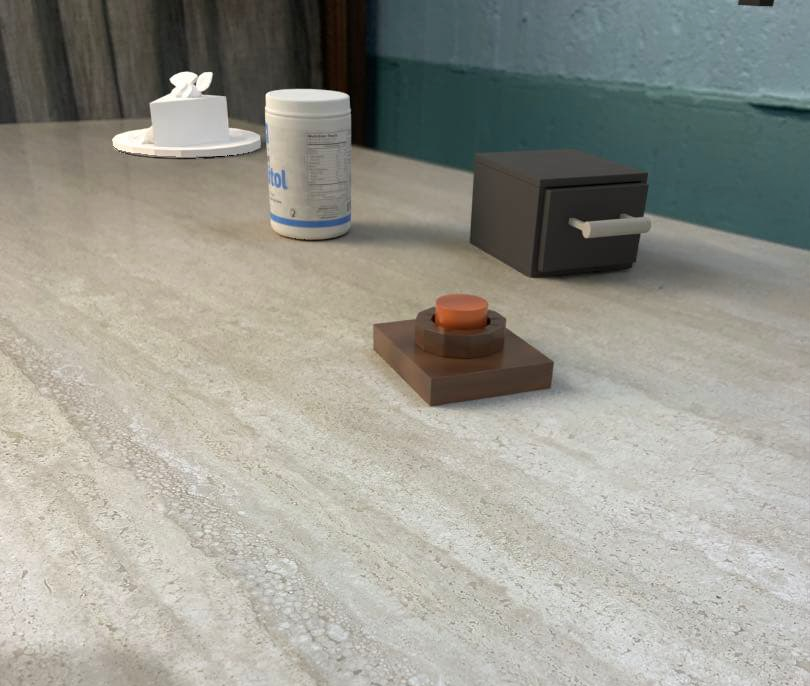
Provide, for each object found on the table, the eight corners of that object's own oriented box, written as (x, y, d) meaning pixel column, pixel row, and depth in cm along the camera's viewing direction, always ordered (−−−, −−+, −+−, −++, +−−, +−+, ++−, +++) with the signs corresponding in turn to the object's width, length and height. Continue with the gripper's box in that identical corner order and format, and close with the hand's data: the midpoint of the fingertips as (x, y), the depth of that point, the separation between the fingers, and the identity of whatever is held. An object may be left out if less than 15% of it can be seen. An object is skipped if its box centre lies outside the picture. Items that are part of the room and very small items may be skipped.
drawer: (660, 274, 88) (675, 193, 84) (564, 284, 85) (574, 201, 80) (569, 231, 102) (578, 160, 98) (483, 239, 98) (488, 165, 94)
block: (551, 389, 66) (557, 338, 64) (430, 407, 62) (432, 354, 60) (481, 335, 75) (484, 290, 73) (372, 349, 72) (373, 302, 70)
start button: (495, 329, 66) (497, 307, 65) (447, 335, 65) (448, 313, 64) (472, 313, 69) (474, 291, 68) (426, 318, 68) (427, 296, 67)
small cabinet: (633, 267, 93) (648, 172, 88) (530, 278, 89) (540, 179, 84) (563, 234, 105) (573, 148, 99) (469, 242, 101) (474, 153, 95)
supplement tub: (256, 228, 104) (247, 91, 96) (323, 217, 109) (319, 86, 101) (298, 246, 98) (292, 101, 89) (367, 234, 102) (367, 96, 94)
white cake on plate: (171, 130, 163) (163, 62, 157) (287, 141, 155) (283, 70, 149) (82, 149, 144) (69, 73, 138) (209, 164, 136) (201, 83, 130)
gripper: (803, -418, 56) (722, 6, 69) (947, -387, 61) (846, 8, 74) (727, -383, 62) (665, 3, 75) (864, -357, 66) (783, 4, 79)
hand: (755, 5), depth 74 cm, fingers closed
